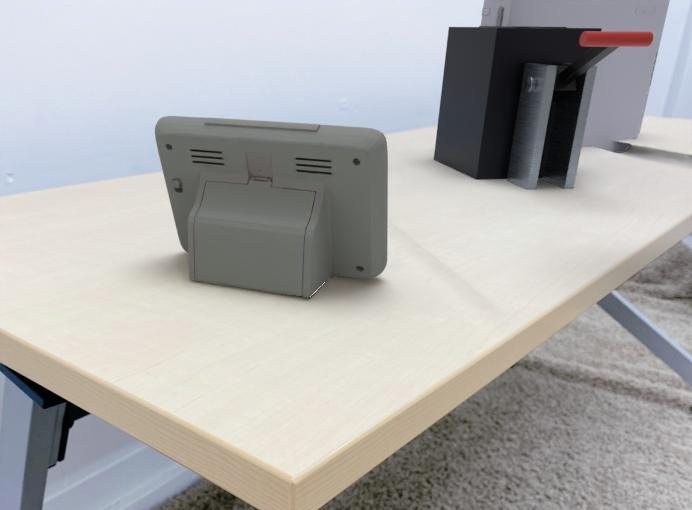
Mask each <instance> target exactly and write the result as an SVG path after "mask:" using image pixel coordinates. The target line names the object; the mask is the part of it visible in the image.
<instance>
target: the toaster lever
mask: <svg viewBox="0 0 692 510" xmlns="http://www.w3.org/2000/svg"><path fill="white" fill-rule="evenodd" d="M652 41H653V33H652V32H641V31H584V32H583V33H582V34H581V36H580V40H579V43H580V45H581V46H582V47H592V48H591V49H590V50H588V51H587V52H586V53H585V54H583V55H582V56H581V57H580V58H578V59H577V60H576V61H574V62H573V63H572V64H571V65H569V66H557V72H556V78H555V84H554V90H553V95H552V101H551V102H560V101H562V100H563V99H565V98H566V97H568V96H569V95H570V94H572V93H573V92H575V91H576V90H577V88H576V79H577V78H578V77H579V76H581V75H582V74H583V73H585V72H586V71H587V70H589V69H590V68H591V67H593V66H594V65H596V64H597V63H598V62H600V61H601V60H602V59H604V58H605V57H606V56H608V55H609V54H610V53H612V52H613V51H614V50H616V49H617V48H619V47H648V46H650V45H651V43H652Z"/></svg>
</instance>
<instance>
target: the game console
mask: <svg viewBox="0 0 692 510" xmlns="http://www.w3.org/2000/svg"><path fill="white" fill-rule="evenodd" d="M670 1H671V0H483V4H482V5H483V6H482V9H481V22H480V25H479V26H511V27H513V26H531V27H567V28H602V30H601V31H641V32H652V33H653V41H652V43H651V45H650V46H648V47H619V48H617V49H616V50H614V51H613V52H612V53H610V54H609V55H608V56H606V57H605V58H604V59H602V60H601V61H600V62H598V63H597V64H596V65H595V66H597V71H596V76H595V81H594V86H593V92H592V97H591V102H590V107H589V112H588V117H587V122H586V127H585V132H584V137H583V142H582V147H581V148H588V147H589V148H590V147H592V148H596V149H601V150H604V151H608V152H612V153H621V152H622V153H623V152H626V151H627V150H628V148H629V147H630V146H631V143H628V142H622V141H629V140H636V138H637V137H638V136H639V134H640V133H641V129H642V124H643V120H644V115H645V111H646V106H647V103H648V100H649V99H648V98H649V94H650V91H651V85H652V80H653V75H654V72H655V68H656V64H657V58H658V54H659V50H660V46H661V41H662V37H663V31H664V28H665V23H666V19H667V15H668V10H669V6H670Z"/></svg>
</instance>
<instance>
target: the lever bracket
mask: <svg viewBox="0 0 692 510" xmlns="http://www.w3.org/2000/svg"><path fill="white" fill-rule="evenodd" d="M571 64H572V63H563V66H569V65H571ZM596 71H597V66H595V65H594V66H593V67H591V68H590V69H589V70H587V71H586V72H585V73H583V74H582V75H581V76H579V77H578V78H577V79H576V88H577V90H576V91H575V92H573V93H572V94H570V95H569V96H568V97H566V98H565V99H563V100H562V101H560V102H556V105H555V111H554V116H553V122H552V128H551V133H550V139H549V145H548V150H547V156H546V161H545V167H544V173H543V178H541V180H542V181H544V182H547V183H549V184H551V185H554V186H557V187H559V188H562V189H563V190H566V189H570V190H571V189H574V187H575V182H576V178H577V173H578V169H579V161H580V156H581V152H582V148H583V147H582V142H583V137H584V132H585V127H586V122H587V117H588V112H589V107H590V102H591V97H592V92H593V86H594V81H595V76H596ZM556 72H557V66H554V65H545V64H535V63H526V64H525V68H524V74H523V80H522V87H521V93H520V99H519V106H518V112H517V118H516V125H515V131H514V137H513V144H512V150H511V156H510V163H509V169H508V175H507V179H506V182H508V183H511V184H514V185H515V186H518V187H520V188H523V189H525V190H537V187H538V181H539V178H538V175H539V169H540V164H541V158H542V152H543V147H544V141H545V135H546V129H547V124H548V118H549V112H550V107H551V101H552V95H553V90H554V84H555V78H556Z"/></svg>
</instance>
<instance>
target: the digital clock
mask: <svg viewBox="0 0 692 510" xmlns="http://www.w3.org/2000/svg"><path fill="white" fill-rule="evenodd" d="M154 137H155V143H156V148H157V152H158V158H159V163H160V165H161V170H162V174H163V179H164V181H165V186H166V191H167V195H168V200H169V203H170V207H171V212H172V216H173V220H174V221H173V222H174V224H175V225H174V226H175V229H176V234H177V237H178V240H179V244H180V246H181V248H182V249H183V251H184V252H186V253H187V255H188V256H187V257H188V259H187V260H188V278H189V280H190V281H195V282H196V281H197V282H201V283H208V284H215V285H220V284H221V286H227V287H233V286H234V288H240V289H246V288H247V290H253V289H254V291H259V290H260V291H259V292H266V293H272V292H273V294H278V293H280V295H285V294H287V295H286V296H291V295H297V296H296V297H298V296H303V297H302V298H306V297H310V296H311V295H312V294H313V293H314V292H315V291H316V290H317V289H318V288H319V287H320V286H321V285H322V284H323V283H324V282H326V281H327V280H328V279H329V278H330V277H331V276H332V275H333V276H338V277H339V276H340V277H347V278H356V279H371V278H375V277H378V276H380V275H381V274H382V273H383V272H384V271H385V269H386V267H387V265H388V232H389V231H388V226H389V225H388V223H389V222H388V216H389V215H388V211H389V209H388V207H389V206H388V205H389V204H388V203H389V201H388V196H389V189H388V188H389V176H388V175H389V157H388V155H389V153H388V142H387V138H386V136H385V134H384V133H383V132H382V131H380V130H378V129H375V128H372V127H364V126H350V125H337V124H319V123H305V122H289V121H288V122H287V121H272V120H258V119H257V120H255V119H254V120H253V119H239V118H223V117H222V118H221V117H205V116H203V117H201V116H181V115H166V116H162V117H160V118H159V119H158V120H157V122H156V123H155V127H154ZM333 276H332V277H333ZM332 277H331V278H332ZM331 278H330V279H331ZM330 279H329V280H330ZM329 280H328V281H329ZM328 281H327V282H328ZM327 282H326V283H327Z"/></svg>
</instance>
